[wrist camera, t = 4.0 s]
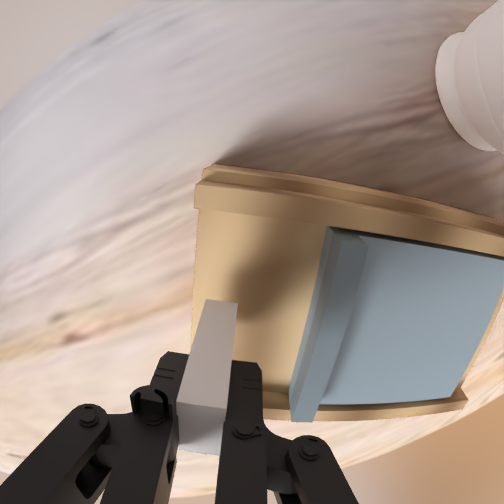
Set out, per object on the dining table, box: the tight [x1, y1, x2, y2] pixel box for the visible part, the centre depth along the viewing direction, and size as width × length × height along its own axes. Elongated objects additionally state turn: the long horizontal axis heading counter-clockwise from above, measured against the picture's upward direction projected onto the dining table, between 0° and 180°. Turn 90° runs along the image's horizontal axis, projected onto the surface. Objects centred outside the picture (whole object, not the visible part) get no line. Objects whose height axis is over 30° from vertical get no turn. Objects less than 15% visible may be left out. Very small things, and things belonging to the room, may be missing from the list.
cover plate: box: [288, 226, 504, 422], centre depth 15 cm, size 12×10×3 cm
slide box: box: [191, 164, 504, 421], centre depth 17 cm, size 20×14×5 cm
